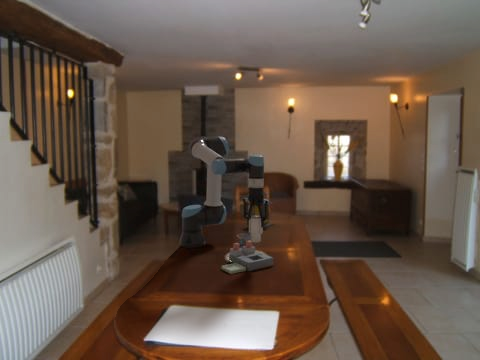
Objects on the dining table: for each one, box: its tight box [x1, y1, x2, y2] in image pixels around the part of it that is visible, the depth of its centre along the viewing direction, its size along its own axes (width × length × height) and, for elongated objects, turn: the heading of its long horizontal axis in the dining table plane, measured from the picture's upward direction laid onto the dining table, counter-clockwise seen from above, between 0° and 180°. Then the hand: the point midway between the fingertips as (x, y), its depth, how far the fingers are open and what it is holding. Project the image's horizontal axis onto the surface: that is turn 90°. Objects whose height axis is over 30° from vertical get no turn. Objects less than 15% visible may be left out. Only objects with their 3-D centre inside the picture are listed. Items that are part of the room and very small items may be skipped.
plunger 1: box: [232, 242, 239, 250], centre depth 213 cm, size 3×3×4 cm
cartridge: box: [250, 215, 262, 243], centre depth 206 cm, size 5×5×13 cm
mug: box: [236, 233, 251, 251], centre depth 228 cm, size 12×9×11 cm
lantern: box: [253, 191, 274, 229], centre depth 297 cm, size 14×14×30 cm
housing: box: [228, 245, 274, 272], centre depth 212 cm, size 18×15×7 cm
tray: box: [221, 263, 247, 275], centre depth 202 cm, size 9×9×2 cm
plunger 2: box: [246, 241, 253, 248], centre depth 218 cm, size 3×3×4 cm
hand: (255, 232), depth 207 cm, fingers closed on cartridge, 5 cm apart
